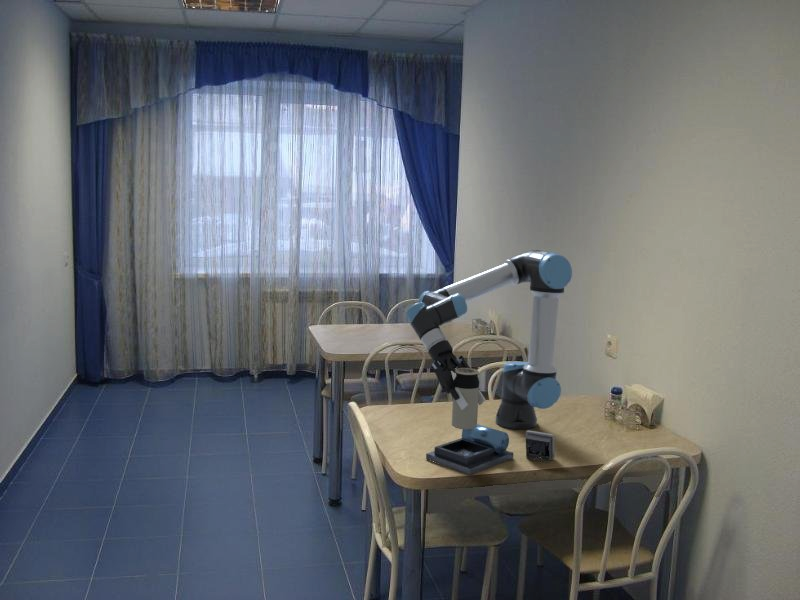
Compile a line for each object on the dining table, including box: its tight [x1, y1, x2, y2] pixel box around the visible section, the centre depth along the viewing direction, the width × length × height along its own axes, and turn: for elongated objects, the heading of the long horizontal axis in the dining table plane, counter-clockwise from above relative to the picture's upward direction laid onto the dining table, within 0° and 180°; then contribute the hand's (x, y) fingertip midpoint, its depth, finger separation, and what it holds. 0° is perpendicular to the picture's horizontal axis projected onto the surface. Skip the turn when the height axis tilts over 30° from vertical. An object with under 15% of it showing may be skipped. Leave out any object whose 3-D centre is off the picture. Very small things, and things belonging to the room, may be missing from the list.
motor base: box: [425, 423, 514, 476], centre depth 254 cm, size 22×18×9 cm
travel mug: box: [451, 367, 480, 430], centre depth 250 cm, size 8×8×18 cm
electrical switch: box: [525, 429, 556, 463], centre depth 256 cm, size 9×5×9 cm, turn 65°
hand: (473, 405), depth 248 cm, fingers closed on travel mug, 8 cm apart
